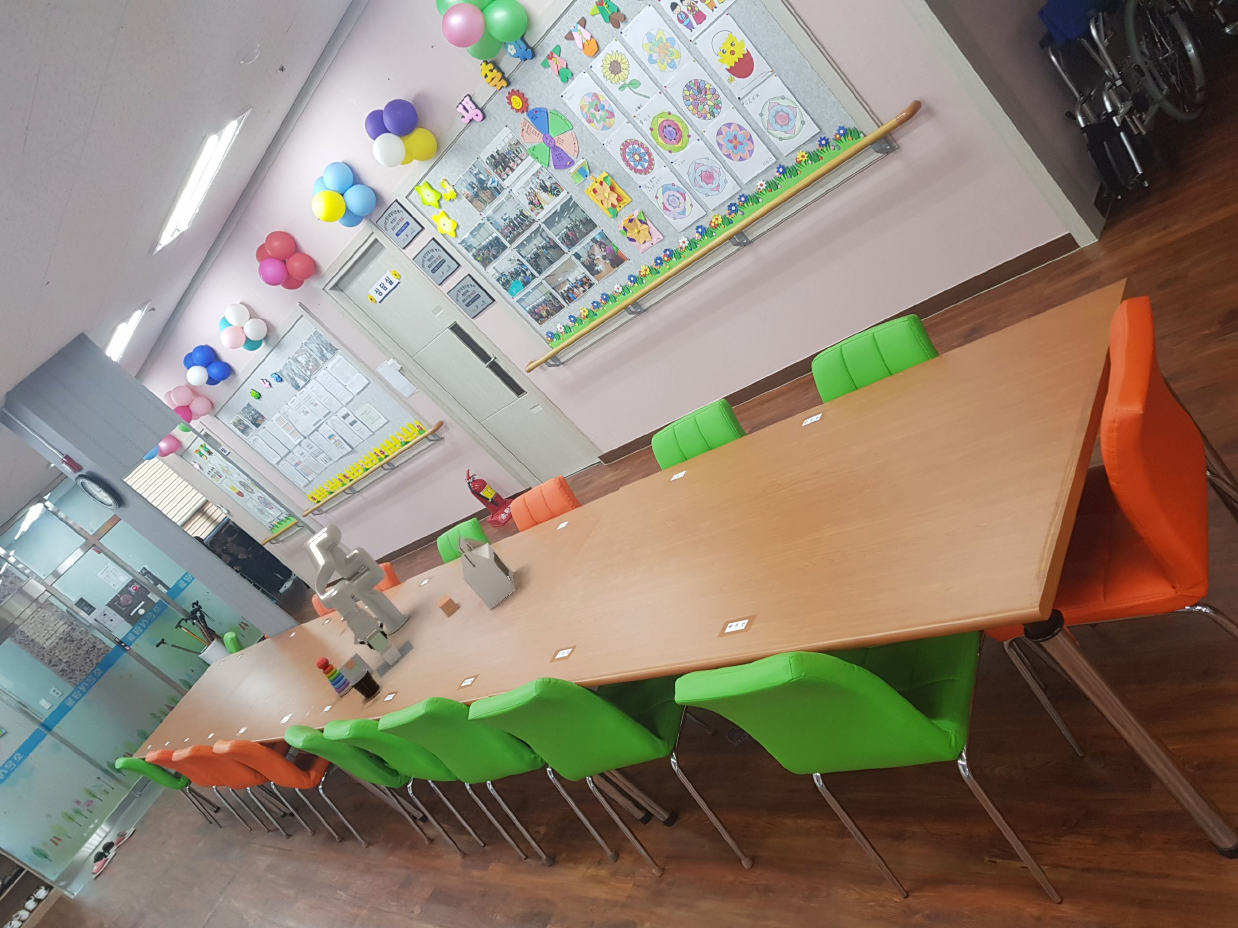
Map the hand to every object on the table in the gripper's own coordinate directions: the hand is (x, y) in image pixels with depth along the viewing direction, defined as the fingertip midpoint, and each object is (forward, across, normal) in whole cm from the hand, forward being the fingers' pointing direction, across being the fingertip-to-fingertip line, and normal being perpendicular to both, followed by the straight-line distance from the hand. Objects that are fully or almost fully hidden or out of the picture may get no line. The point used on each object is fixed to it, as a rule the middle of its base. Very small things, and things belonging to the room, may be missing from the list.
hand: (380, 643), depth 349 cm
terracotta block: (+11, +31, 0) cm, 33 cm away
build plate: (+11, 0, 0) cm, 11 cm away
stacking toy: (+11, -24, +18) cm, 32 cm away
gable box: (+11, +50, -28) cm, 58 cm away
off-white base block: (+9, 0, 0) cm, 9 cm away
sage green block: (+1, 0, 0) cm, 1 cm away
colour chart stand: (+11, -15, +8) cm, 20 cm away
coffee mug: (+11, -15, -16) cm, 24 cm away
